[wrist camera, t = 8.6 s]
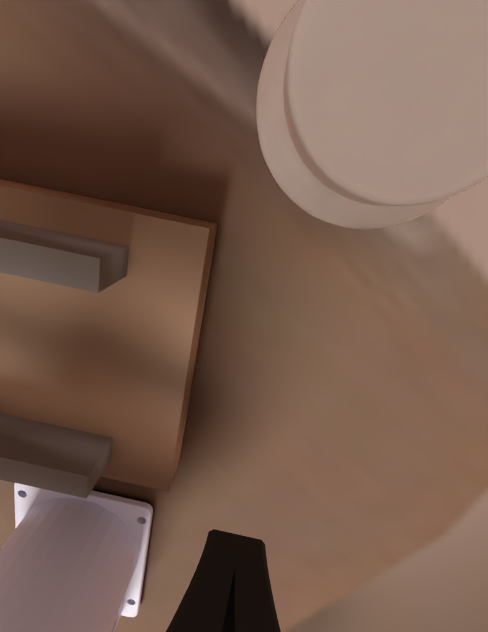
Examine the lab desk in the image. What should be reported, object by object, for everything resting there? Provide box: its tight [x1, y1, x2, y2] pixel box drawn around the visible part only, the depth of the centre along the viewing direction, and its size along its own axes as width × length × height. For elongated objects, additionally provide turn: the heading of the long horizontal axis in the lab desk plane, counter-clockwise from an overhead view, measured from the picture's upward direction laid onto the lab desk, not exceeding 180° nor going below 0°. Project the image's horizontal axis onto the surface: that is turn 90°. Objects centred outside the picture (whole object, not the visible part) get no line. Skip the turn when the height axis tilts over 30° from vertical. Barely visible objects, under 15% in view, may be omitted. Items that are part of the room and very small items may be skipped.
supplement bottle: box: [256, 0, 488, 229], centre depth 10 cm, size 5×5×10 cm
